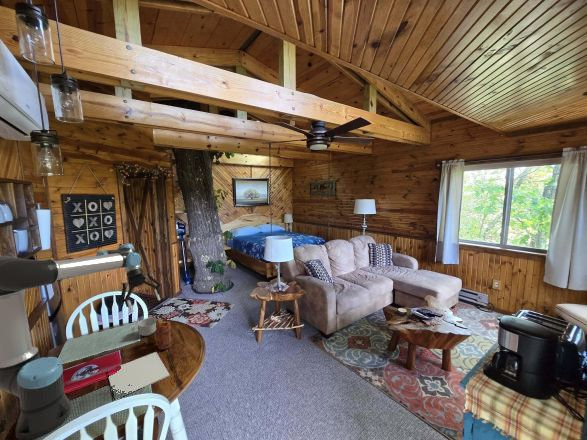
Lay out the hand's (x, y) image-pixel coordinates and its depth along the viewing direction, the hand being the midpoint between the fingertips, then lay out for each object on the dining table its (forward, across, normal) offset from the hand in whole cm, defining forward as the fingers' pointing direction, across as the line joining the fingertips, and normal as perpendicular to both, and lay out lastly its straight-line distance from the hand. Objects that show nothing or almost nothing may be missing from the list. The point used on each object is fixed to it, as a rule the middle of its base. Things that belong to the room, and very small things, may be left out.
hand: (146, 306), depth 133 cm
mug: (+24, +2, -15) cm, 29 cm away
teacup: (+15, +12, -30) cm, 36 cm away
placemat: (+30, +11, +5) cm, 32 cm away
